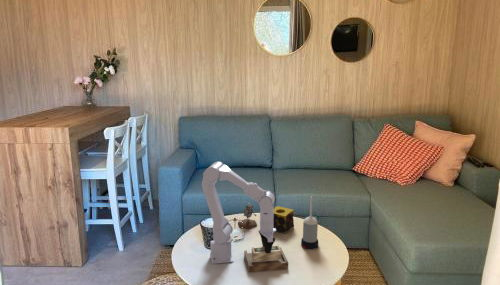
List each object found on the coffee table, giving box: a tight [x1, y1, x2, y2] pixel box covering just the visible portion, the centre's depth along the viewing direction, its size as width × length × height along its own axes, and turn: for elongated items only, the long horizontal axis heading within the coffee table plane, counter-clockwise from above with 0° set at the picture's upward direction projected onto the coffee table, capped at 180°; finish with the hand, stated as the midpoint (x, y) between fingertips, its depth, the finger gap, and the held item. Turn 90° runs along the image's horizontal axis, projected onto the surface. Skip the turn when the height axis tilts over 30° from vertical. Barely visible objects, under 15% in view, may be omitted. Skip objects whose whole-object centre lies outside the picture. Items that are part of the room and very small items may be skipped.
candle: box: [273, 205, 295, 235], centre depth 198 cm, size 10×10×10 cm
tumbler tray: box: [251, 244, 282, 262], centre depth 163 cm, size 12×5×4 cm, turn 100°
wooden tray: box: [243, 247, 289, 274], centre depth 166 cm, size 17×13×3 cm
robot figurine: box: [237, 202, 258, 230], centre depth 201 cm, size 11×9×12 cm
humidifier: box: [300, 195, 319, 250], centre depth 178 cm, size 8×8×25 cm
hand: (266, 249), depth 163 cm, fingers closed on tumbler tray, 5 cm apart
